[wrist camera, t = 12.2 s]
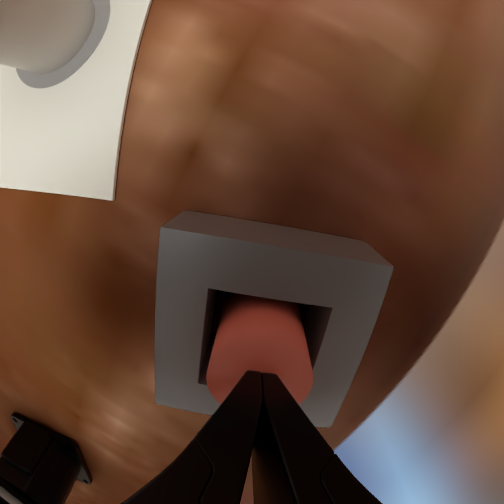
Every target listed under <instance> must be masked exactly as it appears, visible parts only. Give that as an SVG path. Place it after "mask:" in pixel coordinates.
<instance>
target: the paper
mask: <svg viewBox="0 0 504 504" xmlns="http://www.w3.org/2000/svg"><path fill="white" fill-rule="evenodd" d="M91 1H92V3H93V5H94V8H95V19H94V24H93V27H92V30H91V32H90V35H89V37H88V38H87V40H86V42H85V43H84V45H83V46H82V48H81V49H80V50H79V52H78V53H77V54H76V55H75V56H74V57H73V58H72V59H71V60H70V61H69V62H68V63H66V64H65V65H64V66H62V67H61V68H59V69H57V70H56V71H53V72H51V73H47V74H37V73H33V72H29V71H26V70H22V69H18V68H14V67H10V66H5V65H1V64H0V187H1V188H11V189H21V190H30V191H39V192H48V193H56V194H65V195H73V196H81V197H89V198H97V199H104V200H112V201H113V200H115V188H116V178H117V168H118V159H119V151H120V143H121V136H122V129H123V123H124V117H125V111H126V105H127V100H128V94H129V89H130V84H131V79H132V75H133V70H134V66H135V61H136V57H137V53H138V49H139V45H140V41H141V37H142V34H143V30H144V26H145V23H146V19H147V16H148V13H149V9H150V6H151V3H152V0H91Z"/></svg>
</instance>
